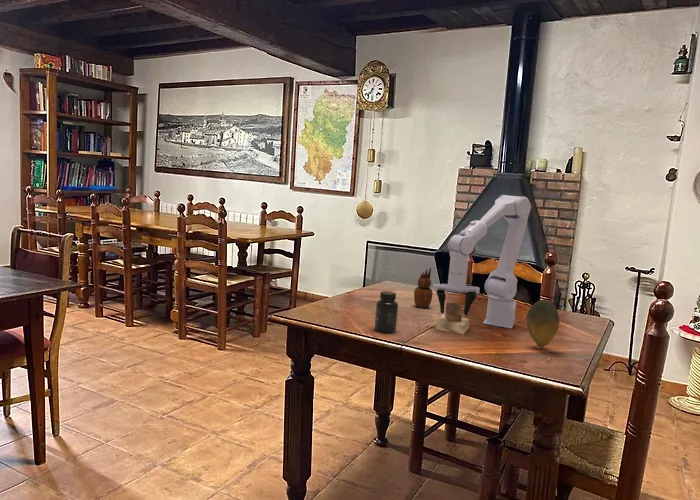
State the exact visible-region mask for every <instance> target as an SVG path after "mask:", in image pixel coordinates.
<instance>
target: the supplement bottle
mask: <svg viewBox="0 0 700 500" xmlns="http://www.w3.org/2000/svg"><path fill="white" fill-rule="evenodd" d="M396 299H397V293H396V292H394V291H389V290H383V291H380V295H379V299H378V300H377V301H376V304H375V317H374V330H375V331H376V332H378V333H382V334H383V333H384V334H392V333H395V332H396V331H397V327H398V326H397V323H398V314H399V313H398V312H399V303H398V302H397V300H396Z"/></svg>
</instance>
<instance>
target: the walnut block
mask: <svg viewBox="0 0 700 500" xmlns="http://www.w3.org/2000/svg"><path fill="white" fill-rule="evenodd" d="M445 303H446V304H445V312H444V315H445V318H446V319H447V321H456V322H461V320H462V318H463V311H464V306H463V305H462V304H461V303H460V302H459V303H458V302H445Z"/></svg>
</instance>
